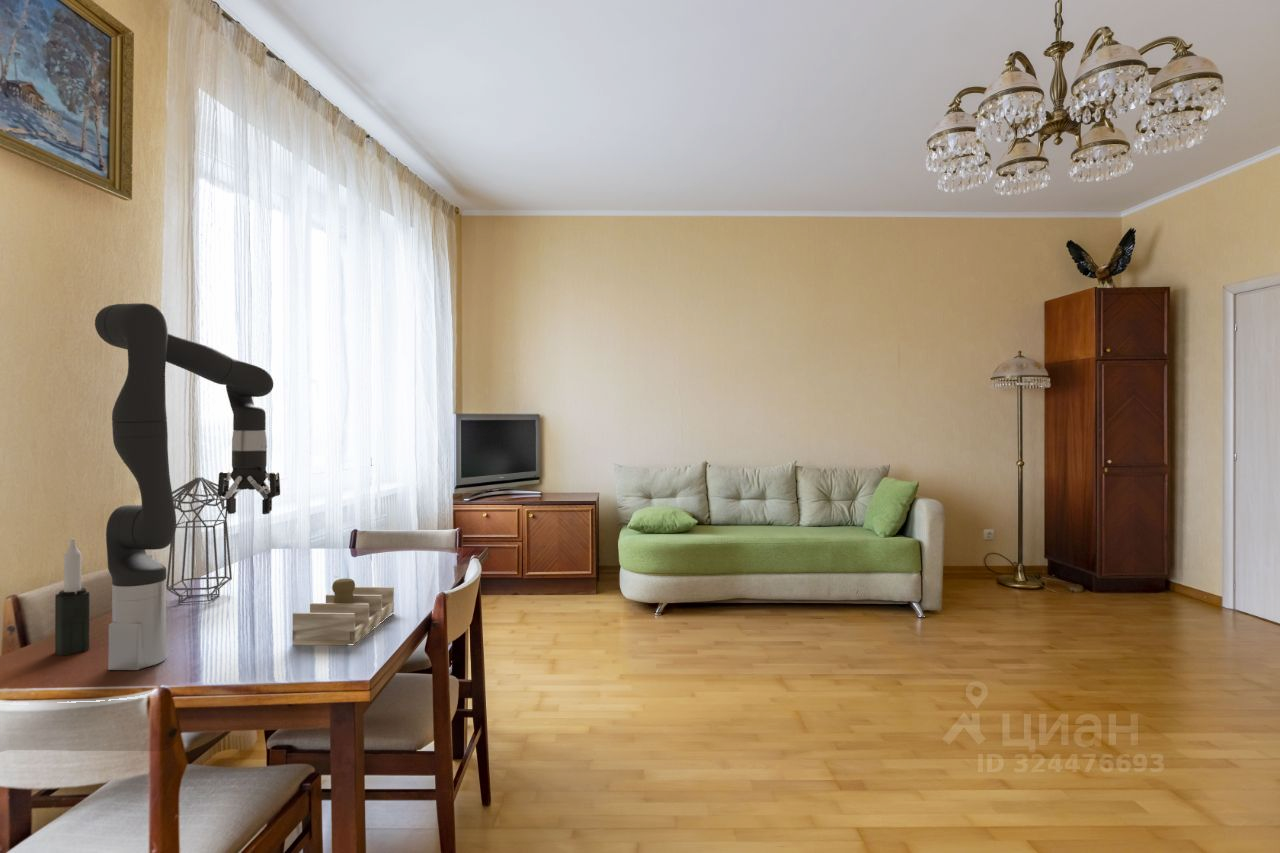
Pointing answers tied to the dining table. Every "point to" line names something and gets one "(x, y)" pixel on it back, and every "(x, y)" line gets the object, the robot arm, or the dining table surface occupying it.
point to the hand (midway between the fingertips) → (249, 513)
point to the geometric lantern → (188, 488)
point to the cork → (343, 590)
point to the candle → (72, 607)
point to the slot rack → (343, 618)
